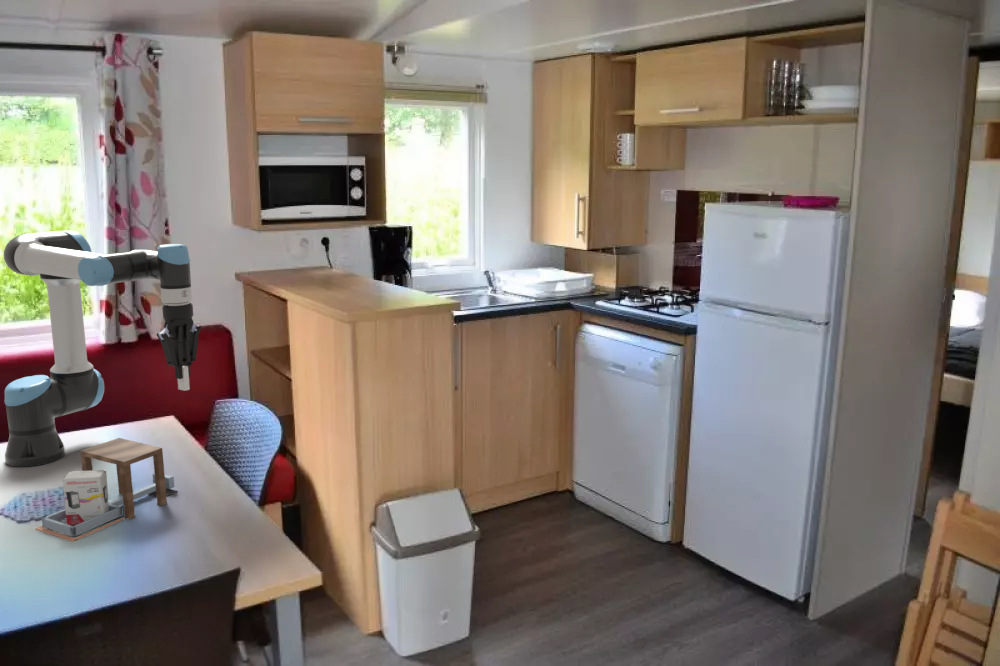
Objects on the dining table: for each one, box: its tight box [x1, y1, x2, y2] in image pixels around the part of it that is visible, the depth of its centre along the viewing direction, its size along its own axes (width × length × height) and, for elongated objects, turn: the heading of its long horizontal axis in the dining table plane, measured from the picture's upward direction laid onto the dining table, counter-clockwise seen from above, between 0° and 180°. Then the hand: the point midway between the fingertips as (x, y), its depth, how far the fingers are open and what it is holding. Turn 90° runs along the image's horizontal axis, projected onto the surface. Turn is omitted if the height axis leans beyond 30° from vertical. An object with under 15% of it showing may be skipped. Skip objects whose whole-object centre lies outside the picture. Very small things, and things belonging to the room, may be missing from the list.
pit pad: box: [147, 488, 178, 498], centre depth 214 cm, size 9×5×1 cm, turn 62°
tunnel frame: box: [80, 437, 168, 520], centre depth 204 cm, size 16×11×15 cm
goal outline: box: [35, 516, 126, 542], centre depth 195 cm, size 14×14×1 cm
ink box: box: [62, 469, 110, 526], centre depth 196 cm, size 9×5×12 cm, turn 101°
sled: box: [41, 473, 175, 537], centre depth 203 cm, size 11×31×3 cm, turn 152°
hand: (184, 389), depth 221 cm, fingers closed
